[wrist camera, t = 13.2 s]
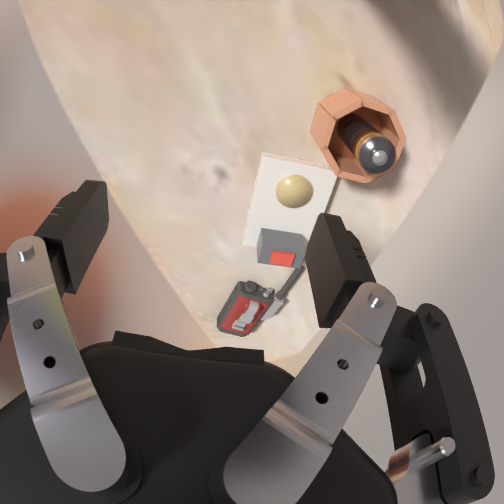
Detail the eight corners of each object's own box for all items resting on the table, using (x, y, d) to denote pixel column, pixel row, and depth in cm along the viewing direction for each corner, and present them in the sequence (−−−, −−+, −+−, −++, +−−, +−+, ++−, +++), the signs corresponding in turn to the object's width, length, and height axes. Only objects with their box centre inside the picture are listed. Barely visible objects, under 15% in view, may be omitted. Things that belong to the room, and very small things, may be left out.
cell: (342, 109, 34) (369, 133, 27) (371, 118, 35) (404, 146, 27) (332, 139, 37) (355, 171, 29) (361, 147, 37) (389, 181, 30)
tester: (262, 152, 39) (264, 171, 34) (335, 167, 40) (347, 188, 36) (242, 238, 48) (242, 265, 43) (306, 248, 49) (312, 274, 44)
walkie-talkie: (254, 331, 63) (306, 262, 51) (255, 349, 60) (310, 281, 48) (213, 320, 61) (256, 245, 49) (212, 338, 57) (257, 264, 46)
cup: (323, 81, 33) (337, 90, 28) (393, 103, 34) (414, 117, 29) (304, 151, 39) (312, 171, 34) (370, 167, 40) (386, 188, 35)
